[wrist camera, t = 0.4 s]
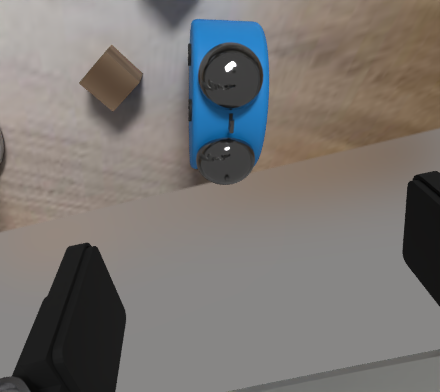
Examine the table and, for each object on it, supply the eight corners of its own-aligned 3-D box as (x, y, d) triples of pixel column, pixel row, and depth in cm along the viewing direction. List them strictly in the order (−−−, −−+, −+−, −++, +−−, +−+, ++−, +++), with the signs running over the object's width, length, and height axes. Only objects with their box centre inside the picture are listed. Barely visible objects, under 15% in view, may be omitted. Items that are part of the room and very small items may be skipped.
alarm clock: (239, 138, 45) (263, 205, 32) (186, 137, 44) (188, 205, 32) (249, 14, 39) (284, 36, 26) (187, 12, 38) (191, 32, 25)
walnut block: (118, 100, 42) (113, 111, 38) (87, 73, 40) (78, 83, 37) (142, 73, 41) (139, 82, 37) (111, 44, 39) (105, 51, 35)
